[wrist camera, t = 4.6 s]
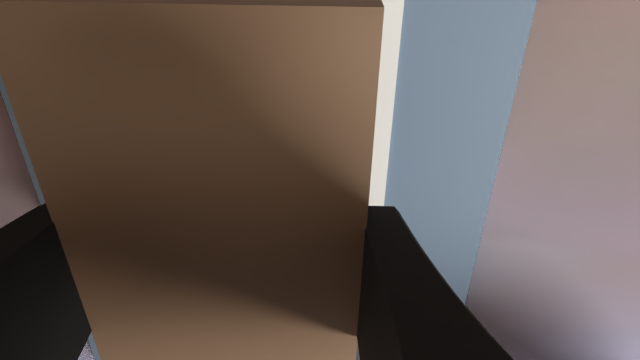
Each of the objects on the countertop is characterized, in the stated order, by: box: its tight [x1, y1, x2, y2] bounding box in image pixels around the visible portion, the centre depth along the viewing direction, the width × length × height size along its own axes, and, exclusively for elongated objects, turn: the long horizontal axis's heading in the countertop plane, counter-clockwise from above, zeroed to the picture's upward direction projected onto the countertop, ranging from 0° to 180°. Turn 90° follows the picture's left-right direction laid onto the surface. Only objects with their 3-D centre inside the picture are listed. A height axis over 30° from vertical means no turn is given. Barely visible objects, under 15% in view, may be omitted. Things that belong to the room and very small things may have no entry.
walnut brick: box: [0, 0, 384, 360], centre depth 10 cm, size 9×5×4 cm, turn 179°
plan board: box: [0, 0, 537, 360], centre depth 13 cm, size 20×13×1 cm, turn 179°
